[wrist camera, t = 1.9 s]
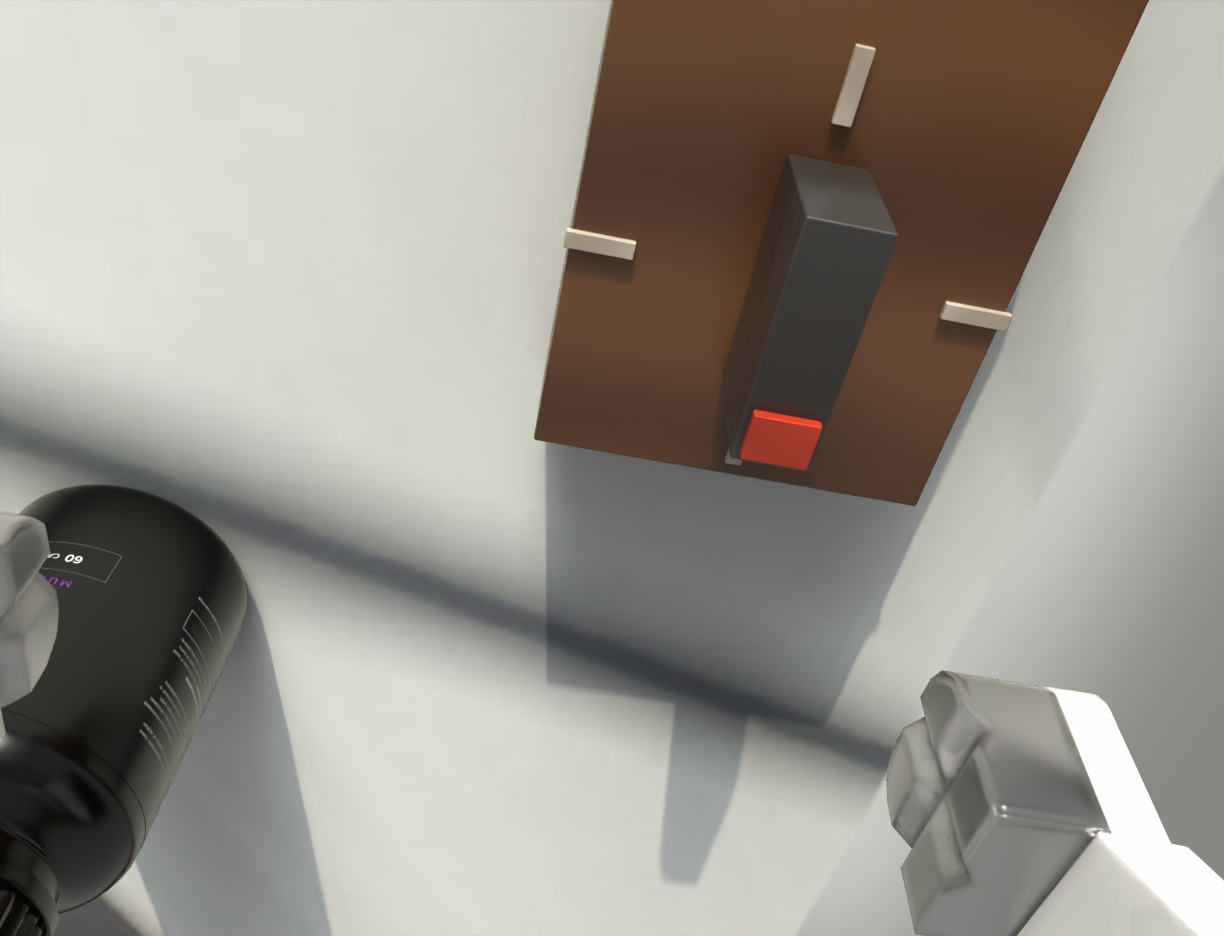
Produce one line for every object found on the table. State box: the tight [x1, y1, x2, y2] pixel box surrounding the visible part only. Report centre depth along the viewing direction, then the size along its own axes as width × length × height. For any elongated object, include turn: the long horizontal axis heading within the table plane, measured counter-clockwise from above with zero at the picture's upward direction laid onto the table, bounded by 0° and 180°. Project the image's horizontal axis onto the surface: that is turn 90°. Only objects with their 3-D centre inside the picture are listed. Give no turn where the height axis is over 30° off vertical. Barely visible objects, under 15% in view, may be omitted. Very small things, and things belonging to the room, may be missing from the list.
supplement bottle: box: [0, 485, 247, 936], centre depth 26 cm, size 7×7×12 cm
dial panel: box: [534, 0, 1149, 506], centre depth 21 cm, size 14×9×3 cm, turn 169°
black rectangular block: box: [722, 154, 898, 472], centre depth 20 cm, size 5×2×3 cm, turn 169°
